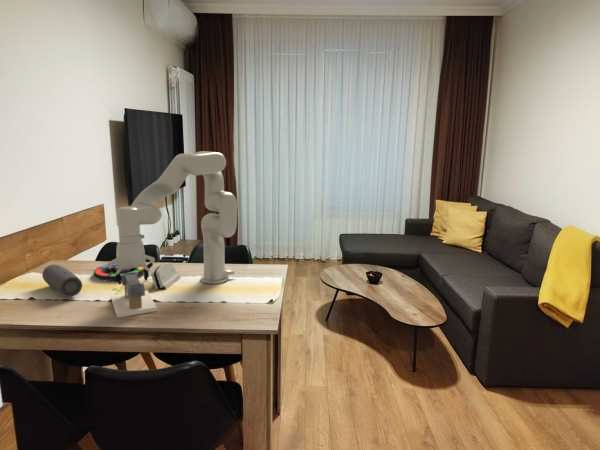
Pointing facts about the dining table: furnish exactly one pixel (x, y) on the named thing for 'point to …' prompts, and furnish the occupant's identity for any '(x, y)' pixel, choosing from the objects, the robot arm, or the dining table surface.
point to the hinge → (165, 276)
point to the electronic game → (111, 276)
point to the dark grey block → (133, 285)
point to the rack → (132, 304)
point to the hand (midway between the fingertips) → (132, 281)
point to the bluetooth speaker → (62, 280)
